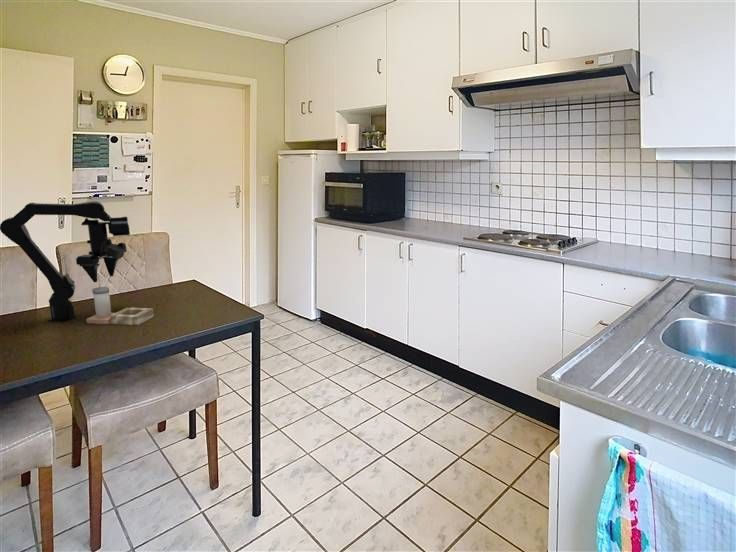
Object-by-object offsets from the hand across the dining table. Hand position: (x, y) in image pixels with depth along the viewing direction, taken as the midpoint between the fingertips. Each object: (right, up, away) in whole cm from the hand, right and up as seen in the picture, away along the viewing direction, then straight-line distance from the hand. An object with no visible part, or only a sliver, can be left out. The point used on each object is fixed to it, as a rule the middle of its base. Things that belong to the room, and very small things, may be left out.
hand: (103, 279), depth 177 cm
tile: (+3, -15, -5) cm, 16 cm away
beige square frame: (+13, -15, -5) cm, 20 cm away
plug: (+3, -13, -5) cm, 14 cm away
